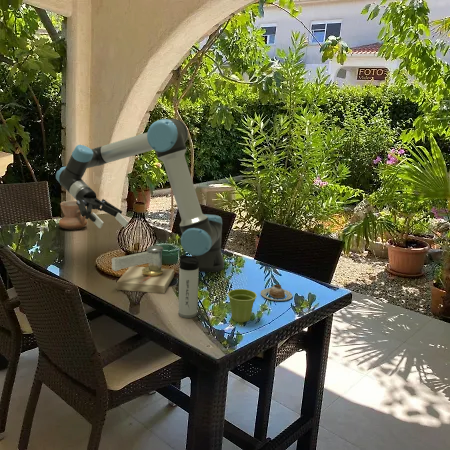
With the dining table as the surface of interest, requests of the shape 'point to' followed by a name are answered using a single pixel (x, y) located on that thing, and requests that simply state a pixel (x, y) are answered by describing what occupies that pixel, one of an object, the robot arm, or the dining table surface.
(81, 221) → the ceramic jug
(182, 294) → the travel mug
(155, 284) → the stand
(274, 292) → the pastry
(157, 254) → the grey lever handle
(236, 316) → the plant pot
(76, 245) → the dining table surface
